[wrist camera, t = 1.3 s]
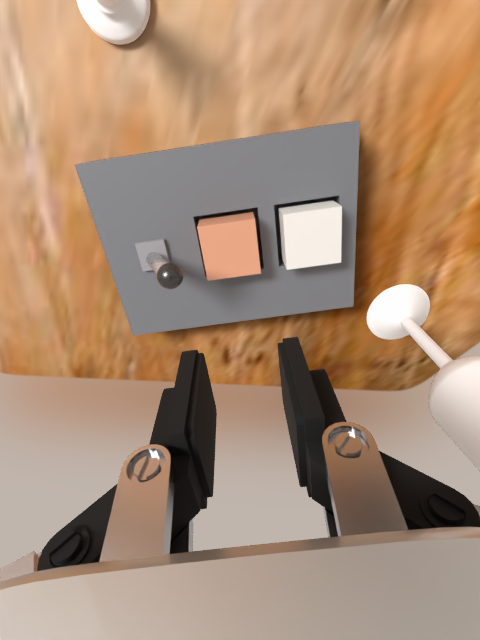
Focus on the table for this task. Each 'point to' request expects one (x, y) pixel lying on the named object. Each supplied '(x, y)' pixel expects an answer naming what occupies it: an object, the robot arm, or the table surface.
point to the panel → (215, 201)
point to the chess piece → (116, 18)
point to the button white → (311, 234)
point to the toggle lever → (165, 271)
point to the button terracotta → (229, 246)
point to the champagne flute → (454, 375)
